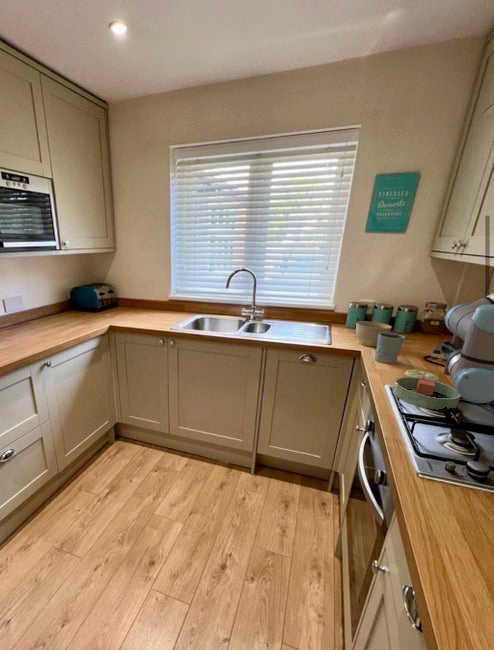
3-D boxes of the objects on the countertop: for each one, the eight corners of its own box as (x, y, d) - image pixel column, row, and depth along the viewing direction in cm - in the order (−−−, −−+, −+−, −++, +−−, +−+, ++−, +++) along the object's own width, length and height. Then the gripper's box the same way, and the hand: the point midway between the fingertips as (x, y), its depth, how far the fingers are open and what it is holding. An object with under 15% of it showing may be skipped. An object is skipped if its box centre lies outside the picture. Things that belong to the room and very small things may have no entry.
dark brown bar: (455, 376, 94) (470, 324, 92) (458, 377, 92) (473, 323, 90) (442, 374, 96) (456, 322, 94) (444, 374, 93) (458, 321, 91)
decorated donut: (417, 375, 134) (420, 367, 132) (443, 386, 124) (446, 377, 123) (397, 378, 131) (399, 369, 129) (422, 388, 121) (425, 379, 120)
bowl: (452, 395, 116) (456, 384, 114) (460, 417, 101) (465, 404, 100) (392, 384, 125) (395, 373, 123) (392, 402, 110) (395, 390, 108)
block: (430, 393, 116) (434, 381, 114) (431, 397, 113) (435, 386, 111) (415, 390, 118) (418, 379, 117) (415, 394, 115) (419, 383, 113)
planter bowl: (386, 350, 165) (391, 329, 161) (350, 345, 173) (354, 325, 169) (386, 343, 178) (391, 323, 174) (354, 338, 186) (358, 319, 182)
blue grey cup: (369, 360, 151) (375, 334, 146) (376, 355, 158) (382, 331, 153) (394, 366, 144) (401, 339, 140) (400, 360, 151) (407, 335, 147)
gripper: (422, 374, 84) (418, 351, 103) (507, 389, 76) (485, 361, 95) (431, 345, 81) (425, 327, 100) (519, 358, 73) (495, 336, 92)
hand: (454, 344), depth 97 cm, fingers closed on dark brown bar, 3 cm apart
